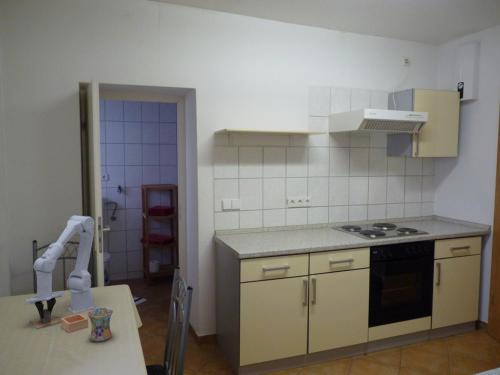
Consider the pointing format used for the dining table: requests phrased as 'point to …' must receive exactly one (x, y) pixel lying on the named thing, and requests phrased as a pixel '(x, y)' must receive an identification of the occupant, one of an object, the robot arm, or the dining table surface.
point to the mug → (100, 324)
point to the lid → (45, 320)
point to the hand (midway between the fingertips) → (45, 317)
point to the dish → (74, 323)
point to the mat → (41, 328)
